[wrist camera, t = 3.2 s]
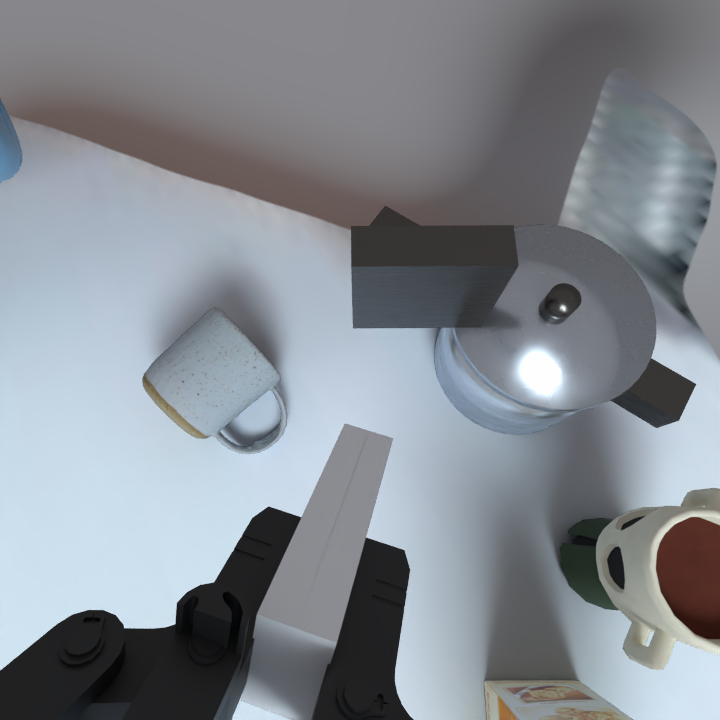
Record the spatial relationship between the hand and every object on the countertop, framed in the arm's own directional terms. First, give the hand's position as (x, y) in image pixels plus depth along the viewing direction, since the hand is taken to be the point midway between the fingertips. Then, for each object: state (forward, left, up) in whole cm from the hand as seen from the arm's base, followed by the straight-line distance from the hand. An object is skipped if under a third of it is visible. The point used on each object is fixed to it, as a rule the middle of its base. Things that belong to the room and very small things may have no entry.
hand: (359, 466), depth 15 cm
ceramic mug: (-13, +2, -25) cm, 28 cm away
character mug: (+18, +6, -25) cm, 31 cm away
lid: (+2, +15, -16) cm, 22 cm away
